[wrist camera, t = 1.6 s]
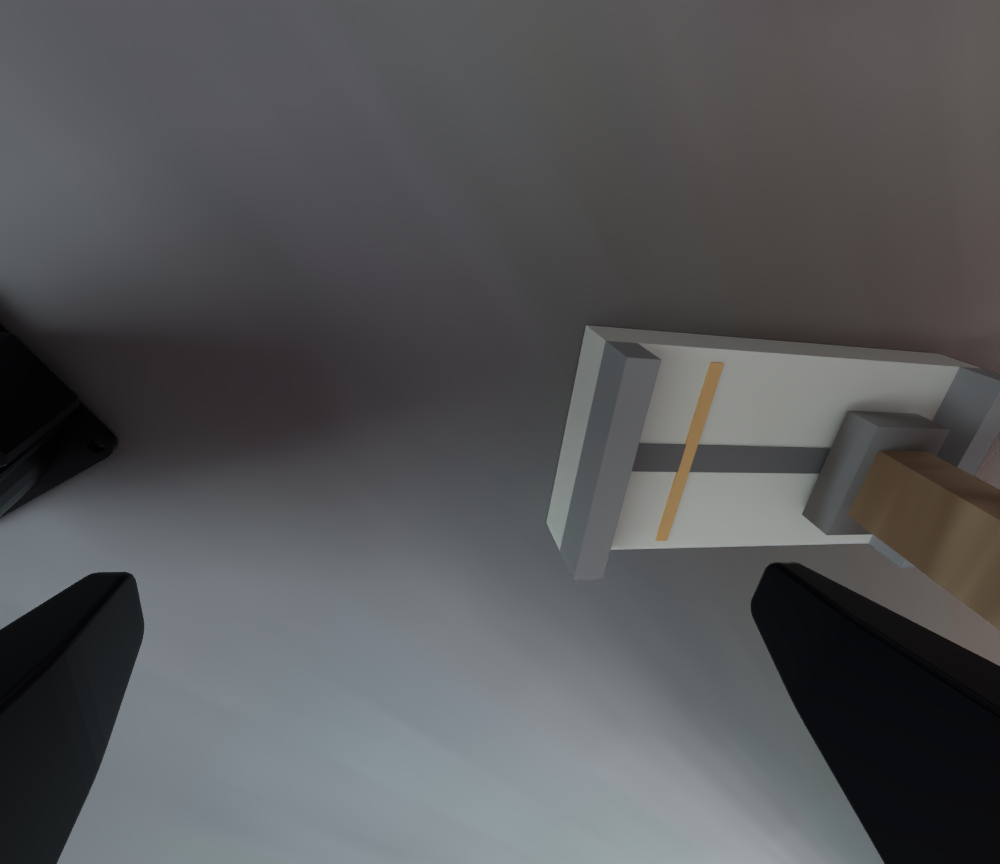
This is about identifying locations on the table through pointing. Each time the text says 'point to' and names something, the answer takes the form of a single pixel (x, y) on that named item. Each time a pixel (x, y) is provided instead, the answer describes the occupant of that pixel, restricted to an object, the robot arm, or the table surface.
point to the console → (734, 437)
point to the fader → (913, 503)
